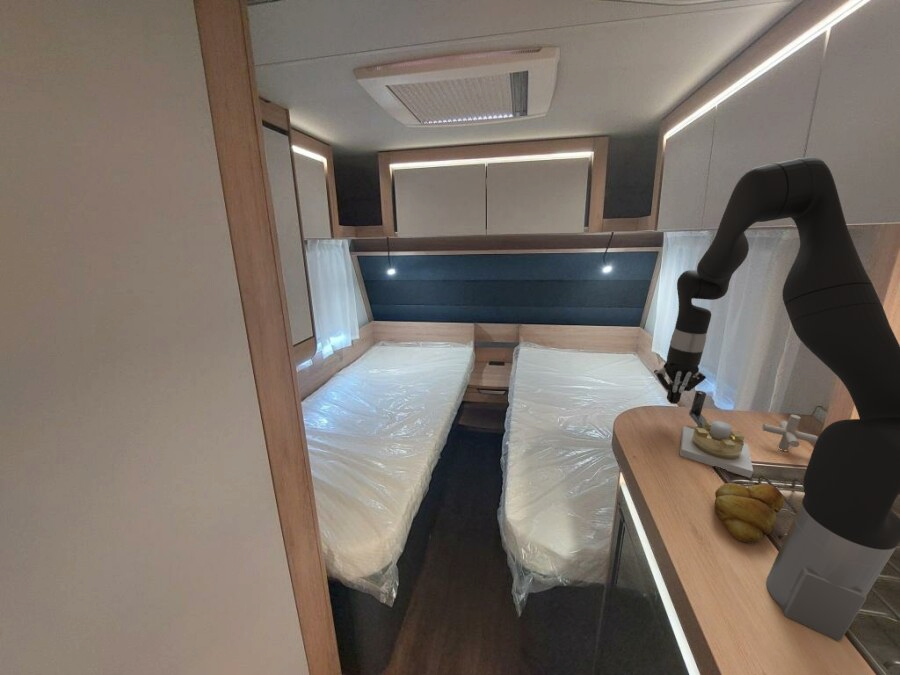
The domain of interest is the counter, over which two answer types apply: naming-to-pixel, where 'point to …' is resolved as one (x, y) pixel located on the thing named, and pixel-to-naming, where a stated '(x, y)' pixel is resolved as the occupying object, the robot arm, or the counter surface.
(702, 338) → the robot arm
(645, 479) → the counter surface
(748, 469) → the flange plate
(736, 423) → the counter surface
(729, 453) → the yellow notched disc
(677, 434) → the counter surface
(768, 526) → the bread roll
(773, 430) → the pipe connector
